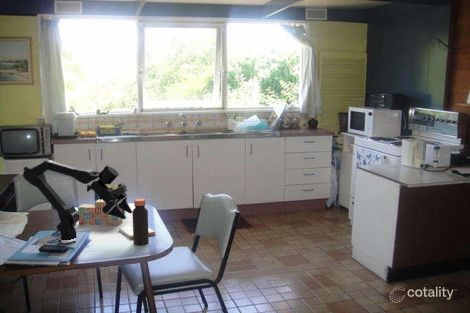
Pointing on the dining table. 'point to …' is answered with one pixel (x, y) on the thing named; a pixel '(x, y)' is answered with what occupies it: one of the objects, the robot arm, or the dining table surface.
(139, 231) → the vinegar
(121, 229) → the white flat block
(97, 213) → the stack of blocks
